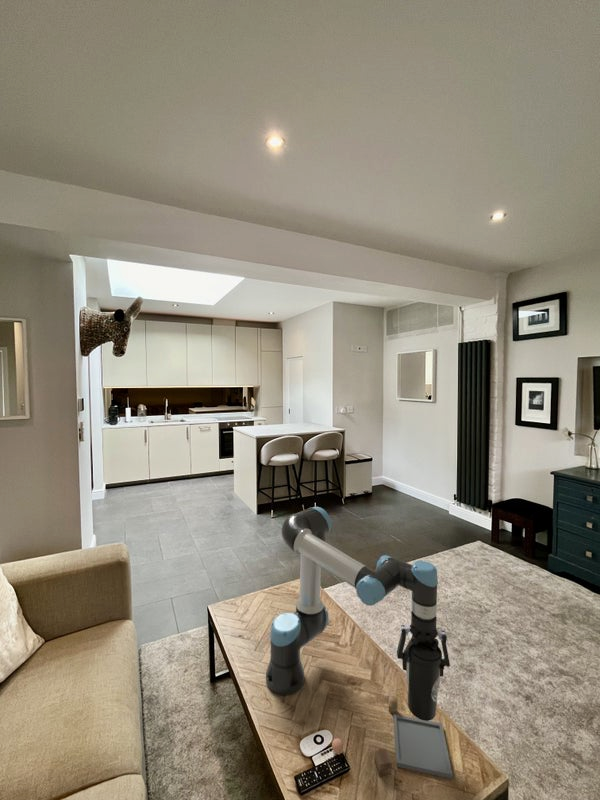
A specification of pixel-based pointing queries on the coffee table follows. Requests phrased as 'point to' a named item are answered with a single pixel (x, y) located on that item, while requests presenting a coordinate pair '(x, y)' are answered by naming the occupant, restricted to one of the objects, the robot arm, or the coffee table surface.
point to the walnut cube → (383, 763)
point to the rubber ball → (337, 746)
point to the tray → (421, 746)
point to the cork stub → (393, 705)
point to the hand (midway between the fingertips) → (422, 681)
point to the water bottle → (424, 679)
